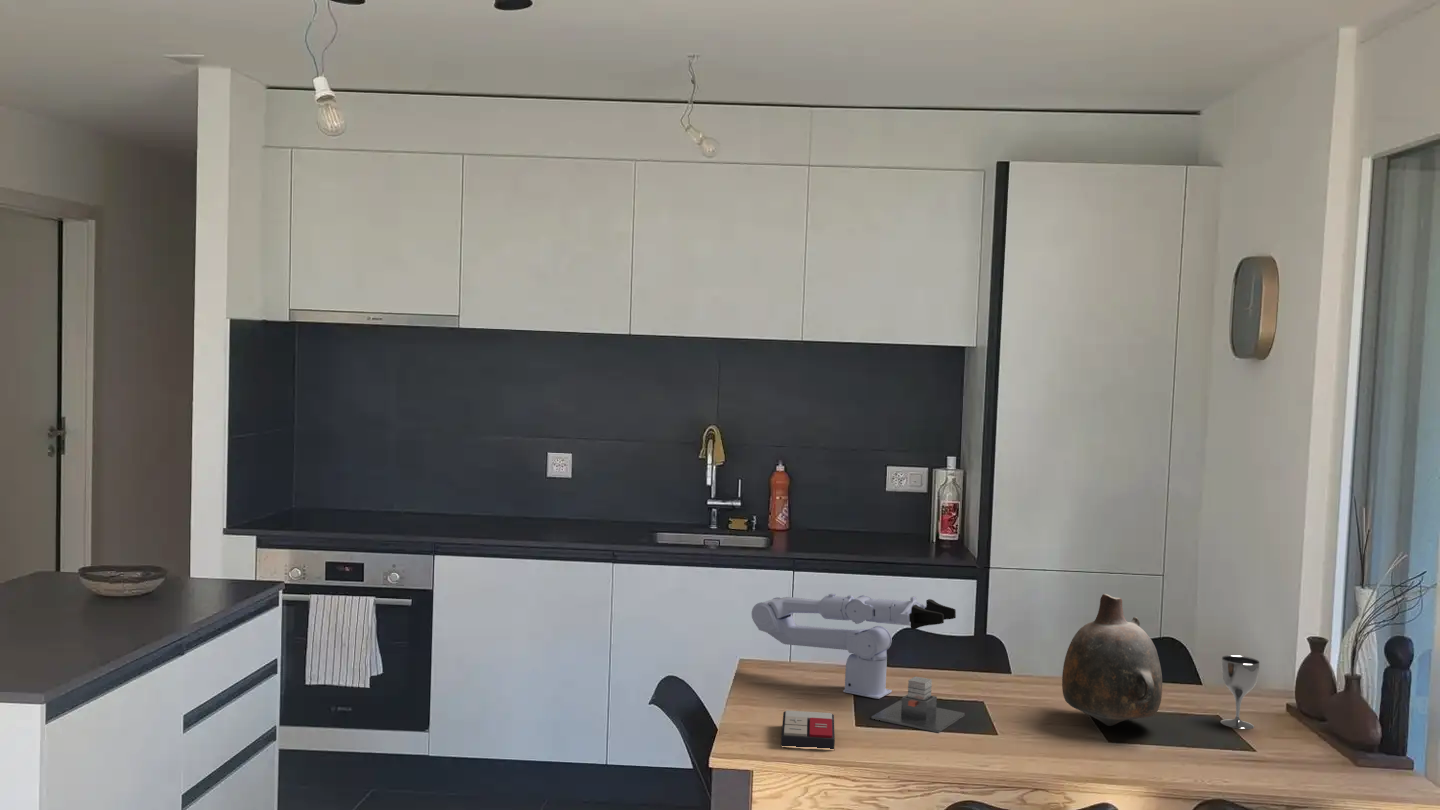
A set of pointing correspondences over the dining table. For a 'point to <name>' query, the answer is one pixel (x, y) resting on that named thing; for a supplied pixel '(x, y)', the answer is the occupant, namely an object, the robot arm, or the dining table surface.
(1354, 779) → the dining table surface
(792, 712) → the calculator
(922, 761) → the dining table surface
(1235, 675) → the silver goblet
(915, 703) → the stand
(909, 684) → the column
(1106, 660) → the jug
